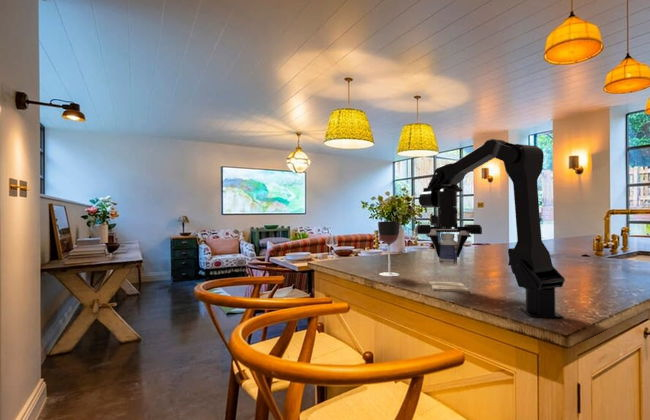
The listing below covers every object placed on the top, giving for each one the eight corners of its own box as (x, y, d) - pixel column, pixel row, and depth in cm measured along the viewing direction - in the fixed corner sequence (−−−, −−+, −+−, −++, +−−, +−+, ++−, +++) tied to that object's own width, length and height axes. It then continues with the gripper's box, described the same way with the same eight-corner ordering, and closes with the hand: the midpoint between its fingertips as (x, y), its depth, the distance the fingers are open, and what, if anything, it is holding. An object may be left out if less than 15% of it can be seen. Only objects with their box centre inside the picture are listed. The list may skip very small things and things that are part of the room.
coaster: (469, 291, 95) (469, 289, 95) (433, 290, 97) (433, 288, 97) (461, 284, 105) (461, 282, 105) (429, 283, 106) (429, 281, 106)
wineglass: (403, 273, 124) (402, 221, 124) (395, 277, 117) (394, 222, 117) (383, 271, 129) (383, 221, 129) (375, 275, 121) (374, 222, 121)
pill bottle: (459, 266, 97) (458, 234, 98) (440, 266, 98) (439, 234, 99) (455, 263, 103) (455, 233, 103) (437, 263, 104) (437, 233, 104)
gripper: (472, 207, 107) (473, 254, 107) (414, 208, 110) (415, 253, 110) (482, 206, 96) (482, 258, 96) (417, 207, 100) (418, 257, 99)
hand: (448, 256), depth 101 cm, fingers closed on pill bottle, 5 cm apart
